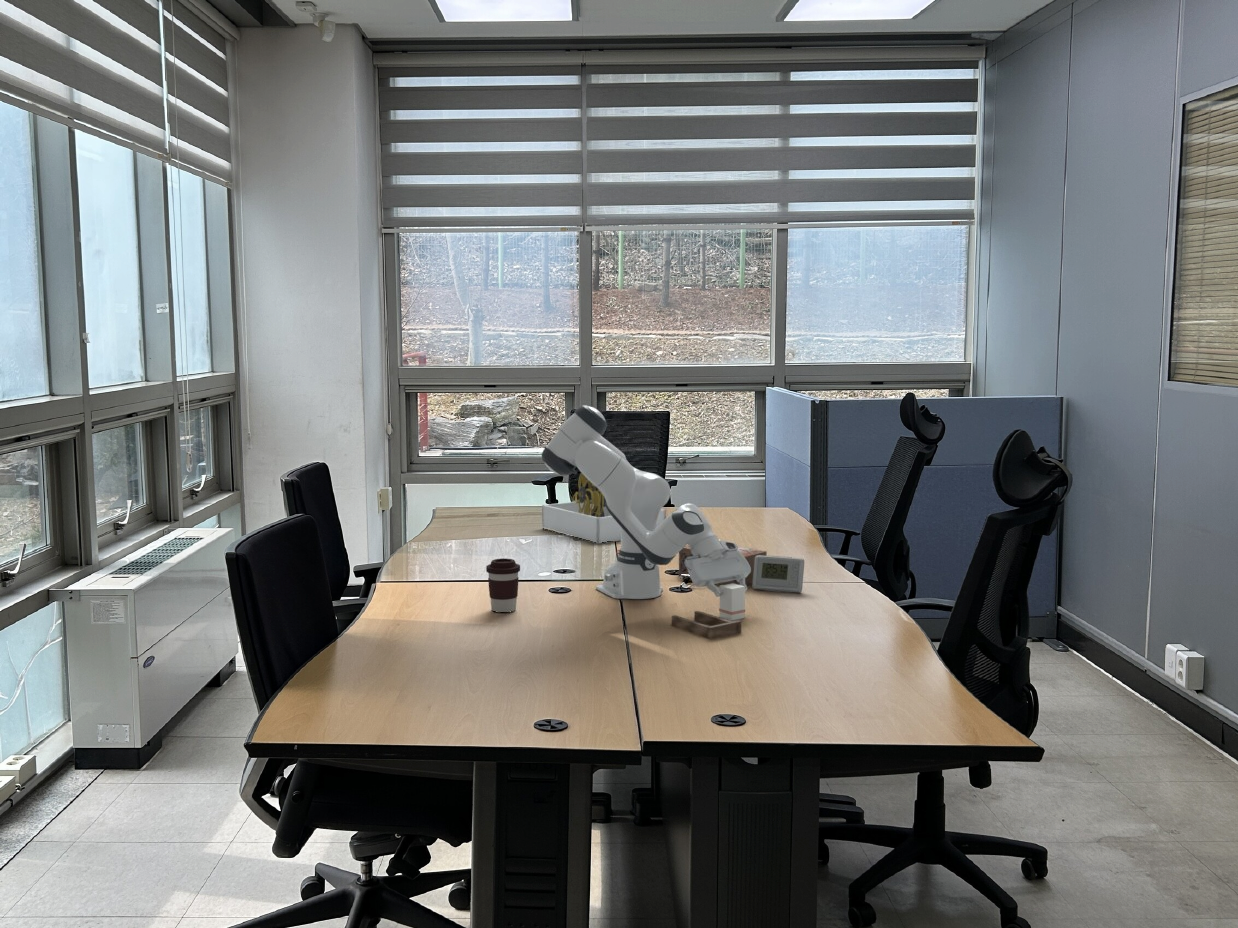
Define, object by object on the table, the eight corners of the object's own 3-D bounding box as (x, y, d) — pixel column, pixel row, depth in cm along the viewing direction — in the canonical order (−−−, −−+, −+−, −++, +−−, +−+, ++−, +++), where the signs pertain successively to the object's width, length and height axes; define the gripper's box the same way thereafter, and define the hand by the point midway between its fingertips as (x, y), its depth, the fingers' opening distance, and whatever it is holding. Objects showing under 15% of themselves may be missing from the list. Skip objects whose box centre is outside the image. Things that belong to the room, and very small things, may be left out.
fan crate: (542, 528, 454) (542, 505, 453) (608, 520, 474) (608, 497, 473) (597, 543, 422) (597, 518, 421) (665, 533, 442) (665, 509, 441)
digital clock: (749, 589, 346) (750, 557, 345) (760, 584, 354) (761, 552, 353) (797, 596, 338) (797, 562, 337) (807, 590, 346) (808, 557, 344)
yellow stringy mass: (570, 528, 455) (570, 457, 452) (643, 524, 464) (643, 454, 461) (587, 539, 430) (586, 464, 427) (663, 535, 440) (663, 461, 436)
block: (717, 619, 308) (717, 585, 307) (730, 616, 311) (731, 582, 310) (731, 623, 303) (731, 589, 302) (745, 621, 306) (745, 586, 305)
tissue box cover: (766, 580, 359) (766, 551, 358) (739, 588, 349) (739, 557, 348) (705, 569, 377) (706, 541, 376) (678, 575, 367) (679, 546, 366)
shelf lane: (669, 630, 298) (669, 614, 298) (699, 623, 305) (699, 608, 304) (710, 644, 285) (710, 627, 284) (741, 637, 291) (741, 621, 291)
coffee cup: (515, 615, 314) (514, 564, 312) (482, 613, 316) (481, 563, 314) (524, 607, 324) (524, 557, 322) (493, 605, 326) (492, 556, 324)
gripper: (687, 551, 305) (710, 591, 298) (740, 542, 317) (763, 581, 310) (676, 564, 309) (699, 604, 302) (729, 555, 321) (752, 593, 314)
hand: (732, 592), depth 306 cm, fingers open, 8 cm apart
